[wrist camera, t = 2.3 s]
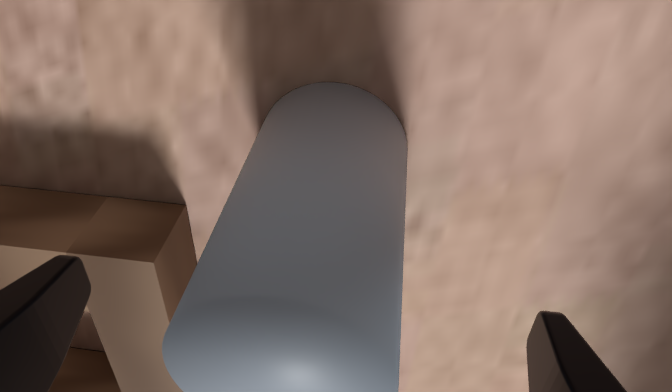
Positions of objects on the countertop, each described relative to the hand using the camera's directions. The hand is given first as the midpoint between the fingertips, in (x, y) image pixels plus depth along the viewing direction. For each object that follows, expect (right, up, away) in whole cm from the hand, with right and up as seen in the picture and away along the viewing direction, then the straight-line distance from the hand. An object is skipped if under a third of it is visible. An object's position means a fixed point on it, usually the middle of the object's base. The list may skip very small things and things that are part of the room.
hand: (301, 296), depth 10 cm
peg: (+1, +3, +4) cm, 5 cm away
